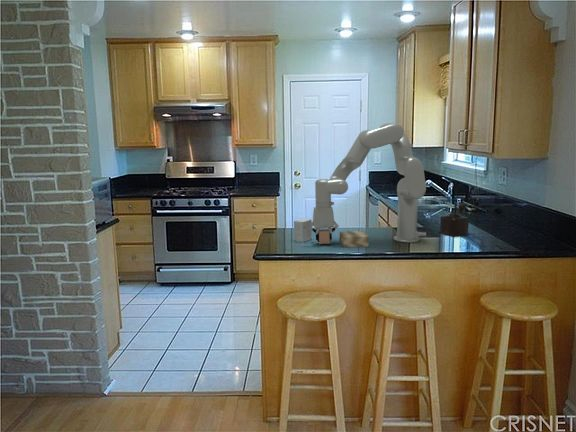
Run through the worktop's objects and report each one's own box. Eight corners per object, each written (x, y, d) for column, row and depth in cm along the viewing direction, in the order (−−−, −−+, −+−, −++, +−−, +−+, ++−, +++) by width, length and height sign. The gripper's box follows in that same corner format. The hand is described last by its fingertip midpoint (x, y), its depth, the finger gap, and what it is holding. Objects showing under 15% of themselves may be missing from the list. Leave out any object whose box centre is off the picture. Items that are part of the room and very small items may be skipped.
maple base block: (363, 240, 233) (363, 230, 232) (368, 246, 221) (368, 236, 220) (339, 241, 232) (339, 231, 231) (343, 247, 221) (343, 237, 220)
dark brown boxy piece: (438, 233, 246) (439, 200, 243) (453, 231, 251) (455, 198, 247) (460, 239, 232) (462, 204, 229) (476, 237, 237) (478, 202, 234)
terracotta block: (328, 240, 229) (328, 229, 228) (329, 243, 224) (329, 231, 223) (318, 241, 229) (317, 229, 228) (319, 243, 224) (319, 231, 223)
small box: (303, 237, 241) (303, 218, 239) (312, 239, 238) (311, 219, 235) (293, 240, 235) (293, 220, 233) (302, 242, 231) (302, 221, 229)
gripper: (339, 202, 227) (339, 238, 231) (305, 204, 226) (305, 240, 230) (342, 205, 220) (342, 242, 223) (306, 206, 219) (307, 243, 223)
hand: (323, 240), depth 227 cm, fingers closed on terracotta block, 5 cm apart
